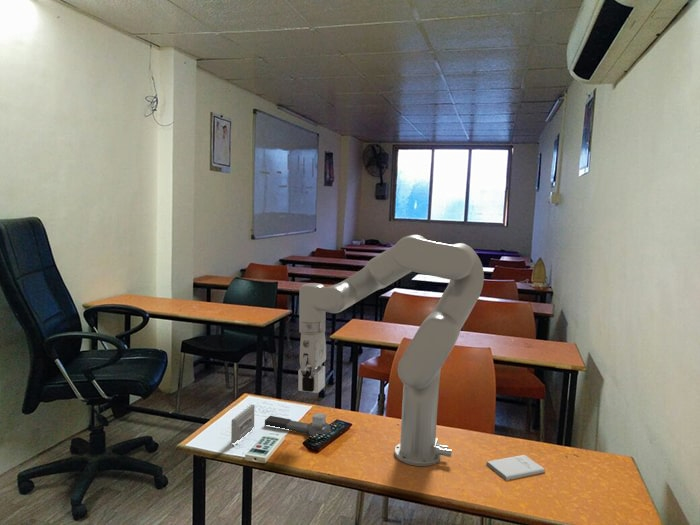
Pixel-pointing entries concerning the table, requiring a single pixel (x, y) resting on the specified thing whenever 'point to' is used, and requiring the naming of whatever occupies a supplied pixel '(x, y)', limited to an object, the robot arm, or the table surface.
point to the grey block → (314, 379)
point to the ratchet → (301, 424)
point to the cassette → (242, 424)
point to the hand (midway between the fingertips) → (312, 386)
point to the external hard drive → (515, 467)
